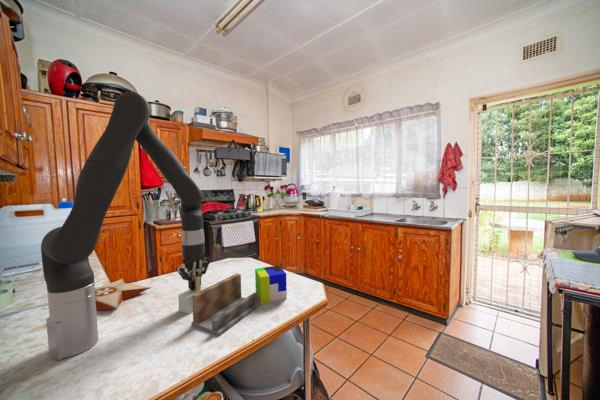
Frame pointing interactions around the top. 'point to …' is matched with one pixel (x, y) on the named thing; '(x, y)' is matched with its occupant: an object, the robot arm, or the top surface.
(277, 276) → the puzzle toy
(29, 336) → the top surface
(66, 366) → the top surface
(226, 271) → the top surface
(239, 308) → the board
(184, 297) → the wide pale green cuboid
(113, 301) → the decorative star
